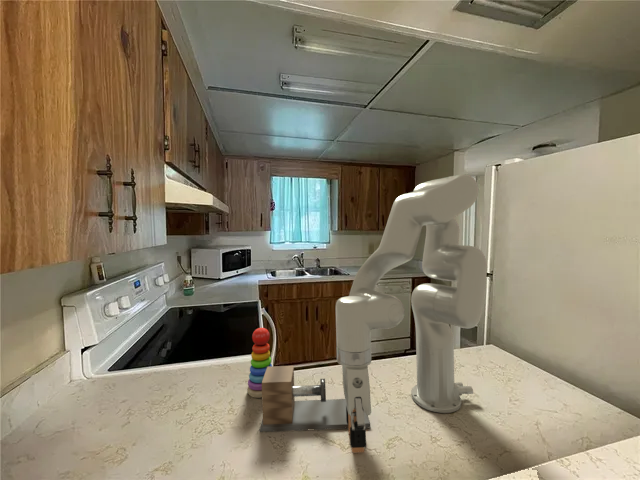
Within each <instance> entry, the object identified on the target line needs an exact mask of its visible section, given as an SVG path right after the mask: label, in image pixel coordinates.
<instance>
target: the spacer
mask: <svg viewBox="0 0 640 480" xmlns="http://www.w3.org/2000/svg"><path fill="white" fill-rule="evenodd" d="M353 412H356V409H353ZM355 421H356V416H354V423H355ZM350 427H351V416H350V415H349V414H348V428H347V429H348V435H349V436H350ZM351 453H354V454H355V453H365V447H361V448H352V447H351Z"/></svg>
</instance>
